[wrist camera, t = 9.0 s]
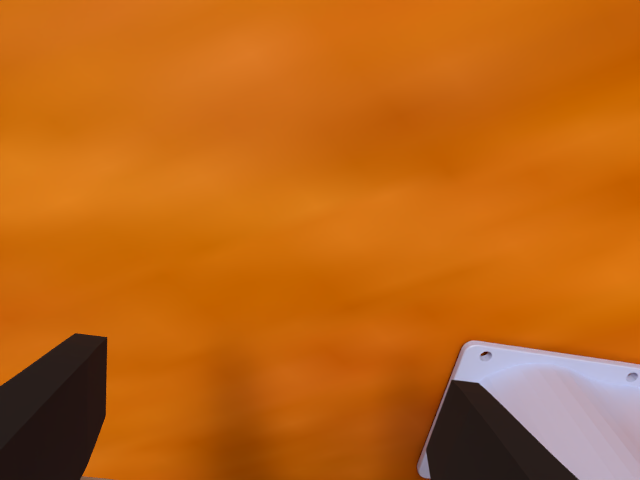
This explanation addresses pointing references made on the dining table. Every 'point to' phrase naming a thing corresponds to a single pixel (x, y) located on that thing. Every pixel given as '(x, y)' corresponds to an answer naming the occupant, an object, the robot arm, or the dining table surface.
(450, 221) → the dining table surface
